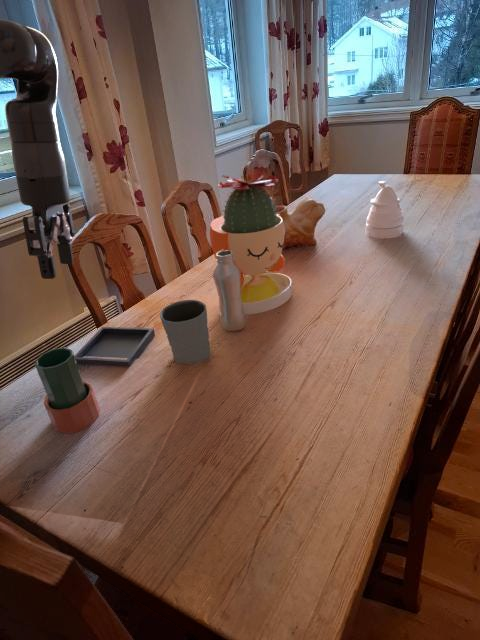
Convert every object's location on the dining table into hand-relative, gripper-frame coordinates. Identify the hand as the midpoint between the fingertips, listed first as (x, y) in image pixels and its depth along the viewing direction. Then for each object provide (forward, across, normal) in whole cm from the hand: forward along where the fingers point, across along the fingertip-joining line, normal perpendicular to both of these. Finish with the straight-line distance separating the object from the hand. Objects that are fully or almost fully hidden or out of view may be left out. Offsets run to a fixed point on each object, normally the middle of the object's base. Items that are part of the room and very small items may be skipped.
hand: (58, 270), depth 75 cm
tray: (+27, -21, +2) cm, 34 cm away
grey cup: (+26, -15, +21) cm, 36 cm away
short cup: (+29, +3, 0) cm, 30 cm away
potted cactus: (+21, -43, +36) cm, 60 cm away
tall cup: (+29, +3, 0) cm, 29 cm away
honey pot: (+12, -83, +86) cm, 120 cm away
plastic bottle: (+23, -26, +31) cm, 46 cm away
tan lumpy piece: (+15, -83, +52) cm, 99 cm away
